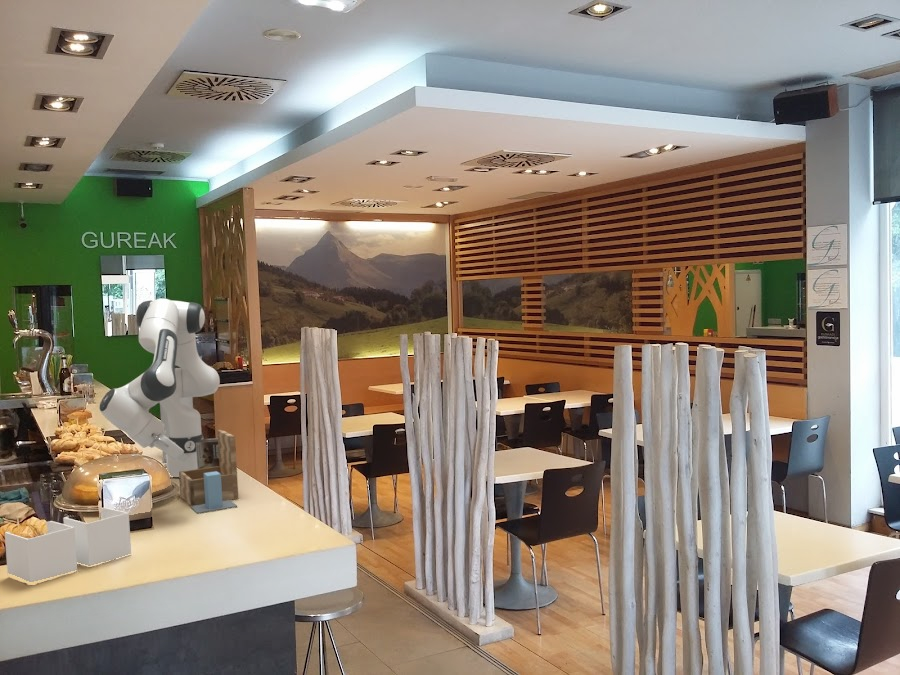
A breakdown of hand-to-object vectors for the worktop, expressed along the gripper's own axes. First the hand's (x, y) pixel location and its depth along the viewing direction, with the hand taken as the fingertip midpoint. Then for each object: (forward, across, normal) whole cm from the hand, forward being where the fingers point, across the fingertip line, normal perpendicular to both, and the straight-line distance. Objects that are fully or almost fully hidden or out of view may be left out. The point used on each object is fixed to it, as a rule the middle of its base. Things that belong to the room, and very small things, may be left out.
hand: (185, 460), depth 242 cm
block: (+16, 0, +5) cm, 17 cm away
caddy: (+17, +14, +4) cm, 22 cm away
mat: (+16, 0, +6) cm, 17 cm away
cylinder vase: (+23, +88, 0) cm, 91 cm away
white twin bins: (-14, -33, +36) cm, 51 cm away
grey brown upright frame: (+22, +28, +1) cm, 35 cm away
